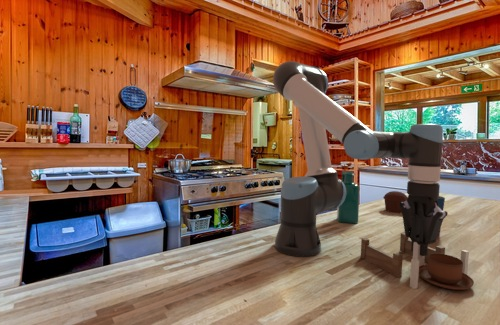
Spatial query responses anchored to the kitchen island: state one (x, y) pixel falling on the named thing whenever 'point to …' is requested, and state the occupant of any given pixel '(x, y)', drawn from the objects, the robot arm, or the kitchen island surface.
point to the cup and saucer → (445, 272)
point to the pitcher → (349, 200)
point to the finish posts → (416, 268)
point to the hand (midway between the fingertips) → (418, 265)
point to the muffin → (394, 201)
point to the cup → (441, 206)
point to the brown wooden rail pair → (393, 262)
